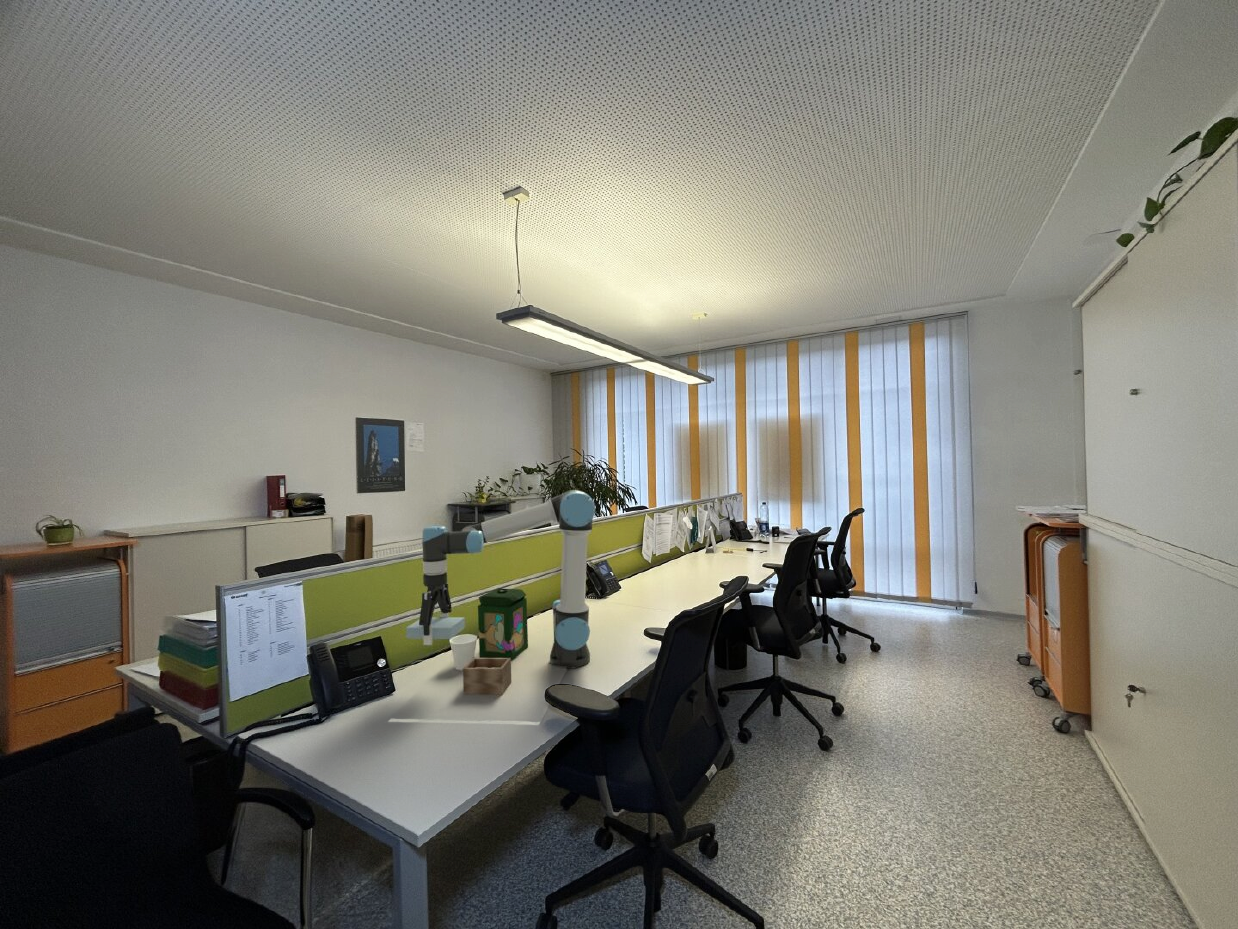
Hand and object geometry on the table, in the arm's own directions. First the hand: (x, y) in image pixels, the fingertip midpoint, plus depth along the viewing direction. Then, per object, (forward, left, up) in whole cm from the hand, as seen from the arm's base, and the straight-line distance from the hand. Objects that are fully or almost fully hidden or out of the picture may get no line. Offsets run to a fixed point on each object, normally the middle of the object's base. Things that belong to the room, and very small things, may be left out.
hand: (436, 638), depth 165 cm
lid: (0, 0, +2) cm, 2 cm away
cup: (-2, -17, -18) cm, 24 cm away
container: (-12, -33, -18) cm, 39 cm away
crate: (-17, 0, -17) cm, 24 cm away
